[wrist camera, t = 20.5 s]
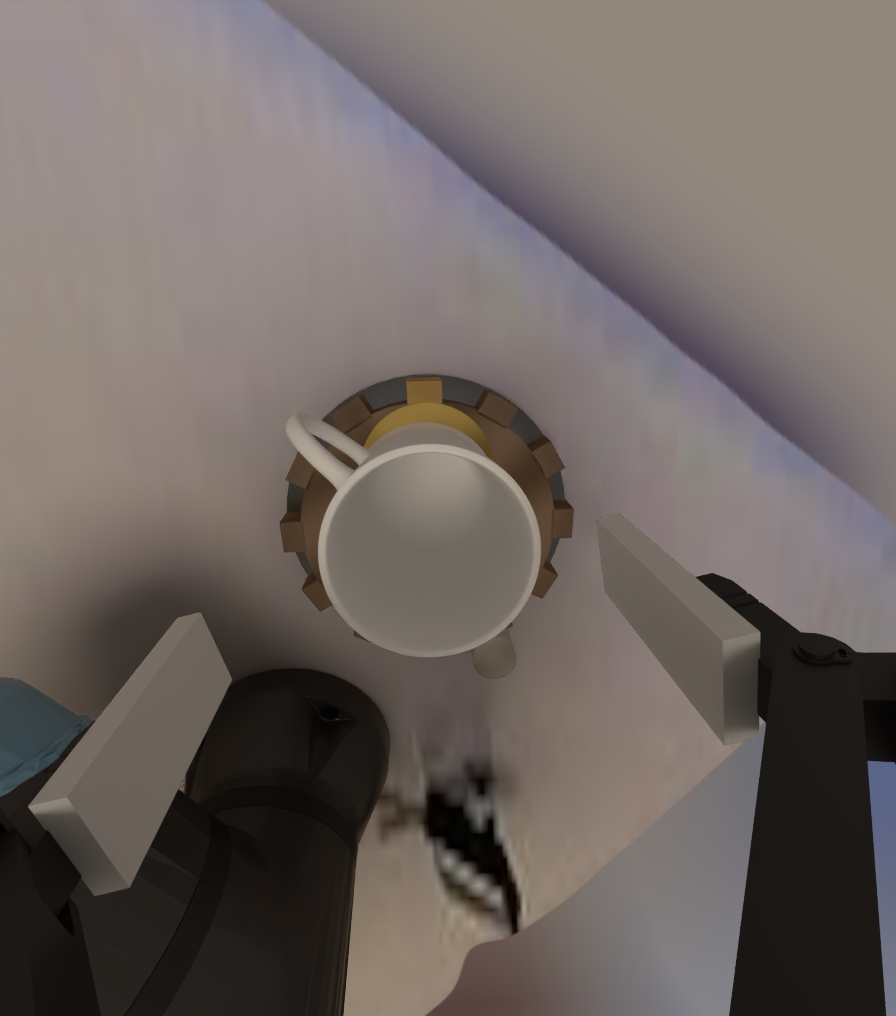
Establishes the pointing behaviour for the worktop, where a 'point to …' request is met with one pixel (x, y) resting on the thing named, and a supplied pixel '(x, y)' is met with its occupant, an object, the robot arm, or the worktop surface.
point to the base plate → (451, 390)
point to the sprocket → (491, 436)
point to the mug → (421, 537)
